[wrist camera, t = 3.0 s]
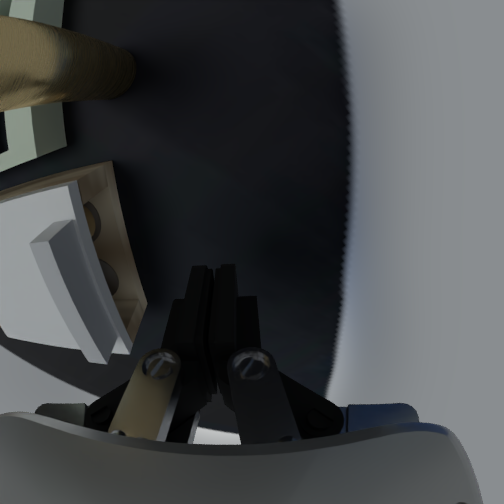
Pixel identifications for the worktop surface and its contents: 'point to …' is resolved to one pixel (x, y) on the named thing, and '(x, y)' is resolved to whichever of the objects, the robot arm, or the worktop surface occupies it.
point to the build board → (41, 116)
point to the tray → (103, 234)
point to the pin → (58, 65)
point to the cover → (55, 276)
